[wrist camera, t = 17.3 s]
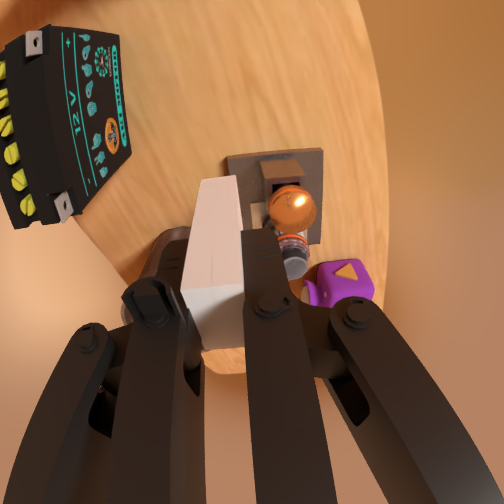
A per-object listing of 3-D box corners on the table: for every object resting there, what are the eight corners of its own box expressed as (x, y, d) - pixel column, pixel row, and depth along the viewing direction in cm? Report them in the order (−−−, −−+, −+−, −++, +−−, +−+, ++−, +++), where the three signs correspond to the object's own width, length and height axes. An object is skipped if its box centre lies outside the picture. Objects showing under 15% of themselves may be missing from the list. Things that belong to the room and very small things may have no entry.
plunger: (262, 171, 34) (268, 195, 29) (302, 167, 34) (317, 191, 28) (265, 206, 37) (271, 236, 32) (302, 202, 37) (316, 231, 32)
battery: (133, 154, 37) (73, 226, 22) (81, 163, 37) (10, 234, 21) (120, 34, 25) (36, 23, 10) (64, 52, 25) (-30, 68, 9)
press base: (227, 156, 39) (226, 179, 32) (320, 147, 39) (341, 169, 32) (240, 247, 50) (243, 283, 42) (318, 238, 49) (332, 271, 42)
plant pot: (247, 235, 48) (255, 307, 35) (211, 294, 56) (210, 363, 44) (157, 201, 43) (130, 267, 30) (136, 269, 51) (115, 337, 38)
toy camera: (292, 265, 53) (303, 305, 45) (359, 247, 52) (379, 283, 44) (301, 301, 60) (310, 338, 52) (359, 284, 58) (375, 319, 50)
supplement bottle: (288, 242, 47) (302, 289, 38) (256, 233, 46) (263, 281, 37) (303, 213, 44) (323, 257, 35) (269, 202, 42) (281, 247, 33)
